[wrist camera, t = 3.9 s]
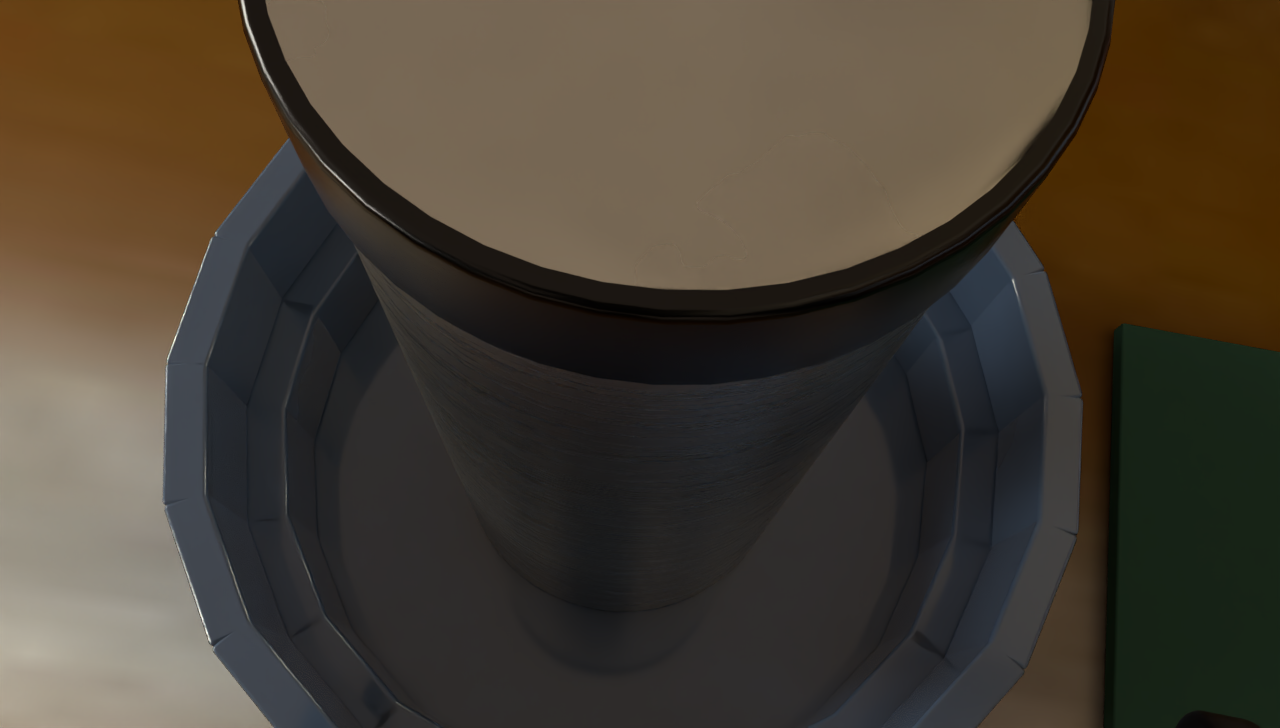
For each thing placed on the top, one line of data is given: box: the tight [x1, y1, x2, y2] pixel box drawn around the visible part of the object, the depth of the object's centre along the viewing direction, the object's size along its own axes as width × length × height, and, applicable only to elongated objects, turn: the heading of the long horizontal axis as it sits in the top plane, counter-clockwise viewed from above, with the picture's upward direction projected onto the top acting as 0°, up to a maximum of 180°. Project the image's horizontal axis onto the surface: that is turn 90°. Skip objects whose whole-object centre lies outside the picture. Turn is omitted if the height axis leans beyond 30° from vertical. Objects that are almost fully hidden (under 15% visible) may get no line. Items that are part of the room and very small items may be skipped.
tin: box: [238, 0, 1115, 612], centre depth 13 cm, size 6×6×13 cm
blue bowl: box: [163, 138, 1083, 728], centre depth 18 cm, size 13×13×4 cm
